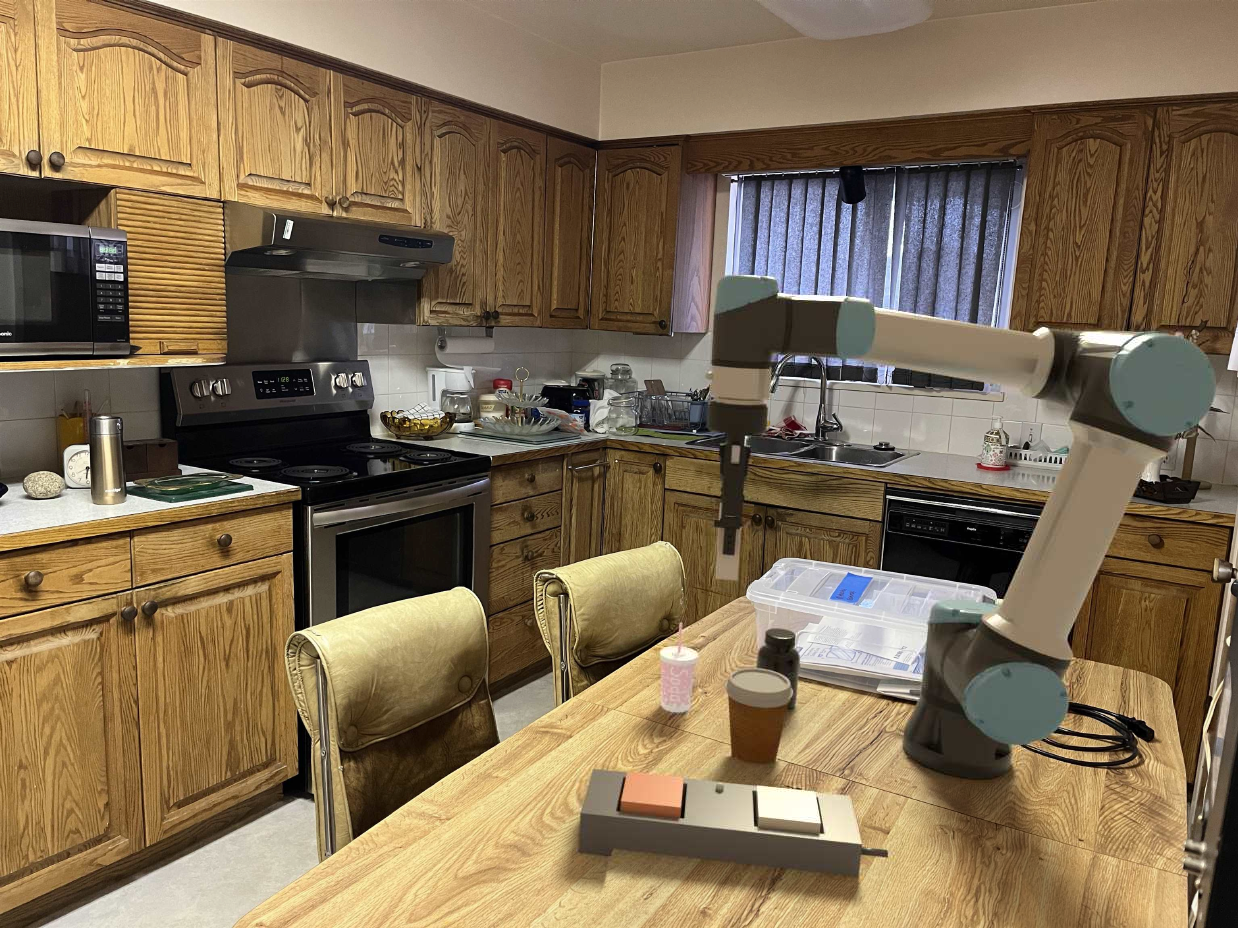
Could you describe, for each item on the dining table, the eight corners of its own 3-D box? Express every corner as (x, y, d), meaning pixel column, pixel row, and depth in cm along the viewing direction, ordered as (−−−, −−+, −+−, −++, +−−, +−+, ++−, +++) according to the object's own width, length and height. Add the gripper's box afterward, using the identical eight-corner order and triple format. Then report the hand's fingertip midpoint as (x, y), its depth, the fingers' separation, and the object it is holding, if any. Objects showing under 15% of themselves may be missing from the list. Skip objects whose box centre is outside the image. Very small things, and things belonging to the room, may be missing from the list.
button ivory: (811, 828, 113) (815, 791, 112) (816, 862, 106) (820, 823, 105) (753, 822, 113) (757, 785, 113) (755, 855, 107) (758, 816, 106)
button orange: (681, 814, 114) (683, 777, 114) (678, 846, 108) (680, 807, 107) (625, 807, 115) (627, 771, 114) (618, 839, 108) (621, 800, 107)
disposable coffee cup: (786, 779, 126) (793, 697, 124) (716, 769, 128) (722, 688, 126) (787, 748, 135) (794, 671, 133) (723, 739, 137) (728, 663, 135)
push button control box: (879, 836, 114) (883, 793, 113) (894, 888, 103) (899, 841, 102) (591, 804, 117) (593, 762, 116) (578, 851, 107) (580, 806, 106)
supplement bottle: (745, 699, 151) (750, 630, 149) (773, 690, 156) (779, 623, 154) (775, 715, 146) (781, 643, 144) (804, 705, 150) (811, 635, 148)
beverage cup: (650, 709, 146) (656, 625, 144) (664, 695, 152) (669, 614, 149) (687, 717, 144) (693, 632, 141) (699, 702, 149) (705, 620, 147)
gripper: (710, 390, 128) (700, 537, 132) (706, 409, 104) (693, 590, 107) (764, 393, 127) (752, 541, 131) (773, 413, 103) (758, 595, 107)
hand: (726, 563), depth 119 cm, fingers open, 13 cm apart
